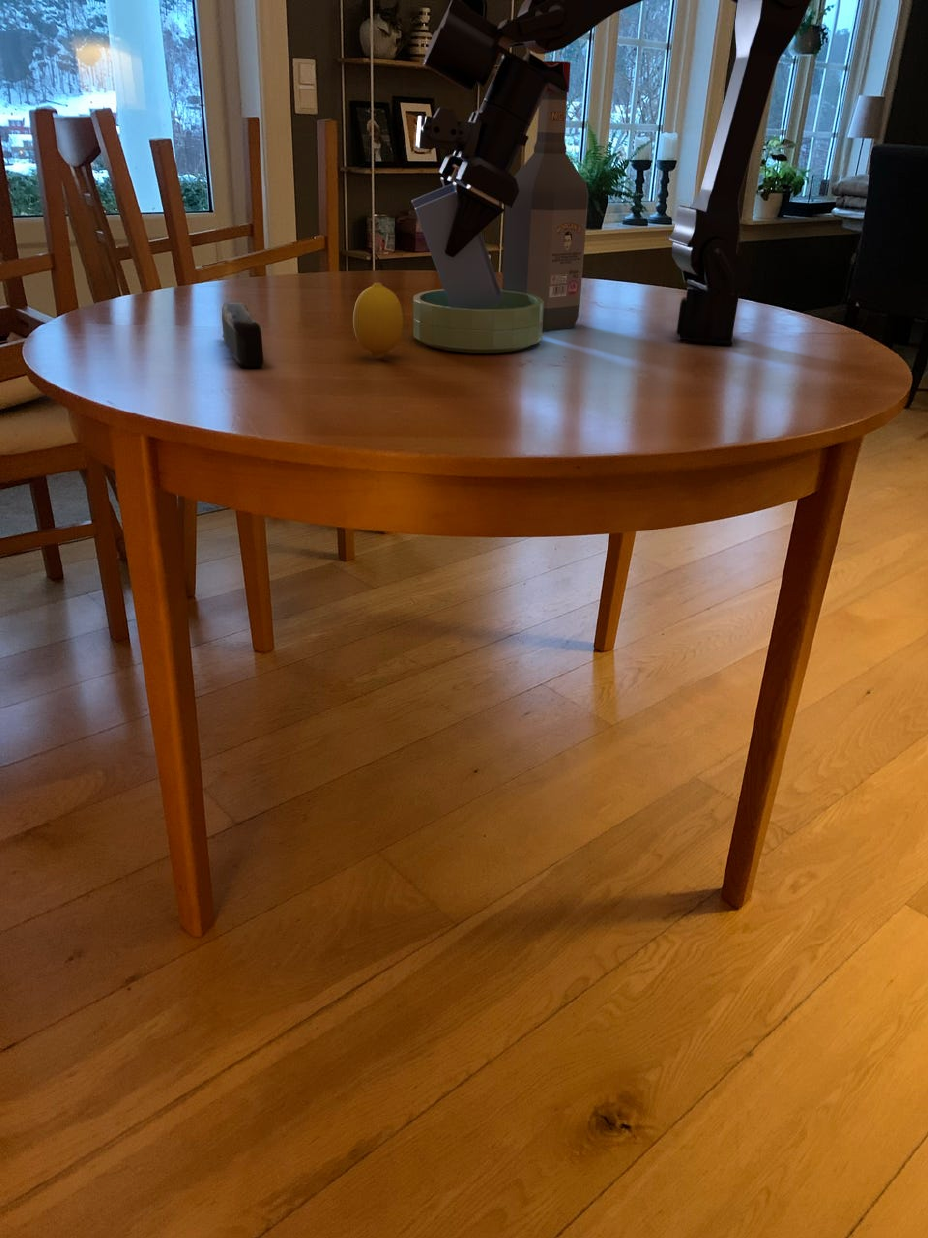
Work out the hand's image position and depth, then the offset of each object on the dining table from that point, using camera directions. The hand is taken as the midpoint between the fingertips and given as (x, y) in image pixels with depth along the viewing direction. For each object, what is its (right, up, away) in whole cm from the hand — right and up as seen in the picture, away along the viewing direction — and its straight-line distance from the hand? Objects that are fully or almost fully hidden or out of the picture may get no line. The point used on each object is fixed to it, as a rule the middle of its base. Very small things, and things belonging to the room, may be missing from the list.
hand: (444, 251), depth 104 cm
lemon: (-7, -14, -4) cm, 16 cm away
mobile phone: (-23, -13, -4) cm, 27 cm away
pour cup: (+4, -5, +3) cm, 7 cm away
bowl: (+4, -9, +6) cm, 11 cm away
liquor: (+12, -3, +16) cm, 21 cm away
